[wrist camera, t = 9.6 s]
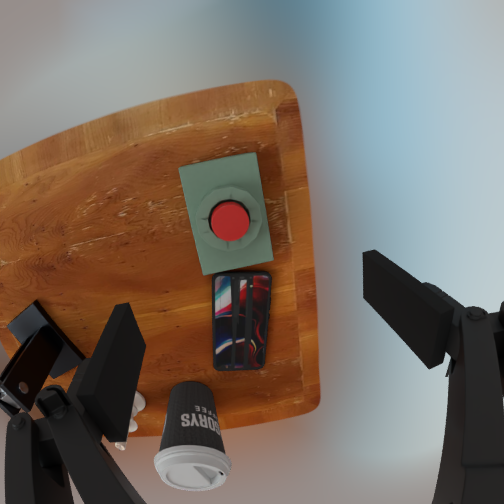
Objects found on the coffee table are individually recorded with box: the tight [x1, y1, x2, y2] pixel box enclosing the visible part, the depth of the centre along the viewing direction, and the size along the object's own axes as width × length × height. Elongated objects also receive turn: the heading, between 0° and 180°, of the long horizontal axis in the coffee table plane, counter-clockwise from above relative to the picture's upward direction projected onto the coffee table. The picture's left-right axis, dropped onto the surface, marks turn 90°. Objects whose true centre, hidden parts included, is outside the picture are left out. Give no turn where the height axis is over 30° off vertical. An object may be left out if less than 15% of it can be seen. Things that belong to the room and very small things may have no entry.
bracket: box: [0, 300, 86, 418], centre depth 30 cm, size 11×8×14 cm
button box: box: [179, 152, 274, 275], centre depth 33 cm, size 12×8×4 cm, turn 10°
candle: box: [115, 391, 146, 450], centre depth 37 cm, size 5×5×10 cm
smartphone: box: [212, 271, 272, 371], centre depth 39 cm, size 7×1×15 cm
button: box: [211, 202, 249, 241], centre depth 30 cm, size 4×4×2 cm
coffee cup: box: [154, 381, 231, 491], centre depth 36 cm, size 10×10×15 cm
